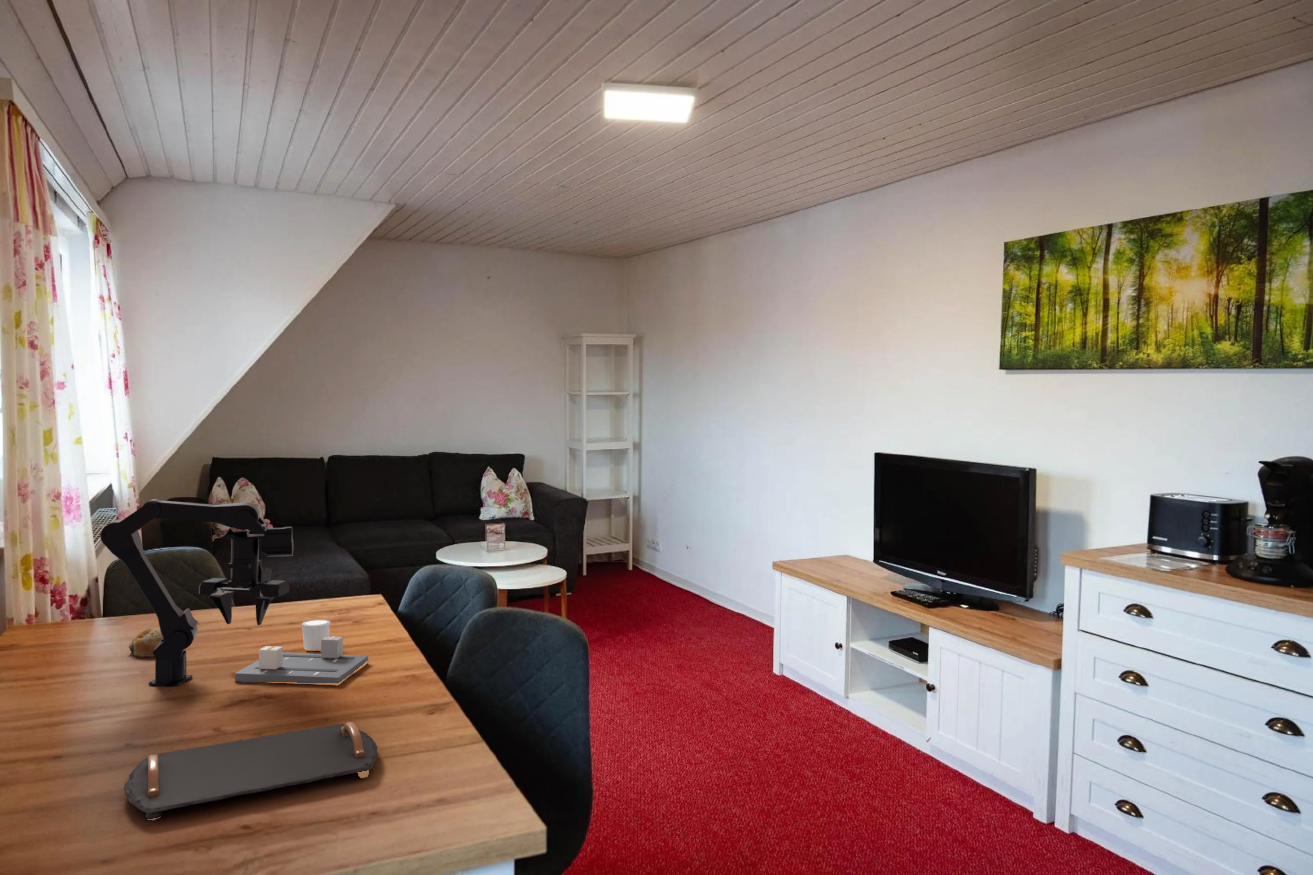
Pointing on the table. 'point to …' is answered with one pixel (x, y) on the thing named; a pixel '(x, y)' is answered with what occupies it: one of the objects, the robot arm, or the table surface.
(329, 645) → the fader
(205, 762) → the serving board
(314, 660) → the console
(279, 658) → the block
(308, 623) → the white cup
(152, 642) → the bread roll
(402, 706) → the table surface
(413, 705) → the table surface
